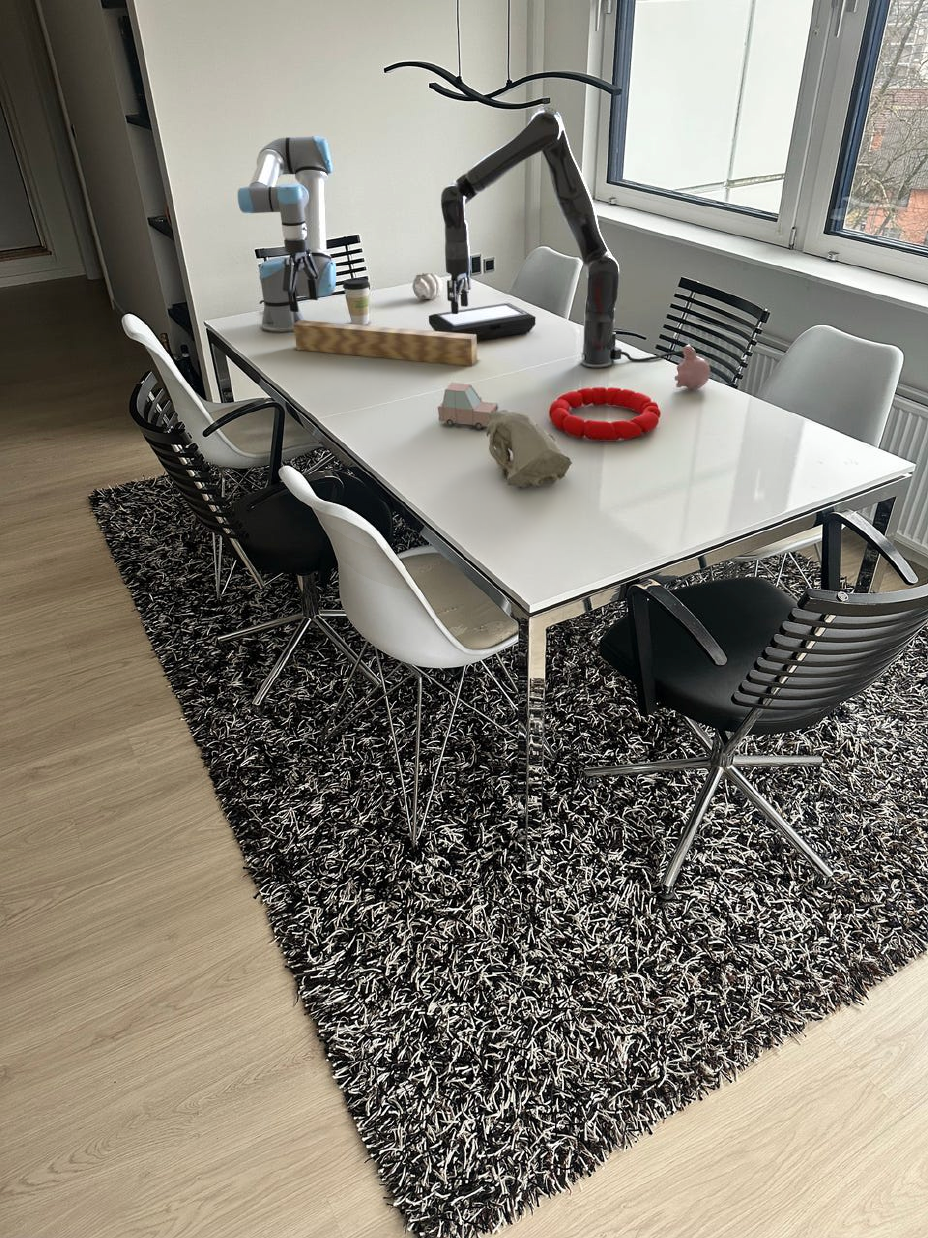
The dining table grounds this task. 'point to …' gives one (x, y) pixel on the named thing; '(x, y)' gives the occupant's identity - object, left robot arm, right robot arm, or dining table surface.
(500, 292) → the dining table surface
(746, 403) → the dining table surface
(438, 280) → the seashell
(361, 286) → the coffee cup
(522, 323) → the electronic device
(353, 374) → the dining table surface
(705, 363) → the figurine
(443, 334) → the beam
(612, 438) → the decorative ring
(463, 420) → the toy car
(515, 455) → the grey brown rock
